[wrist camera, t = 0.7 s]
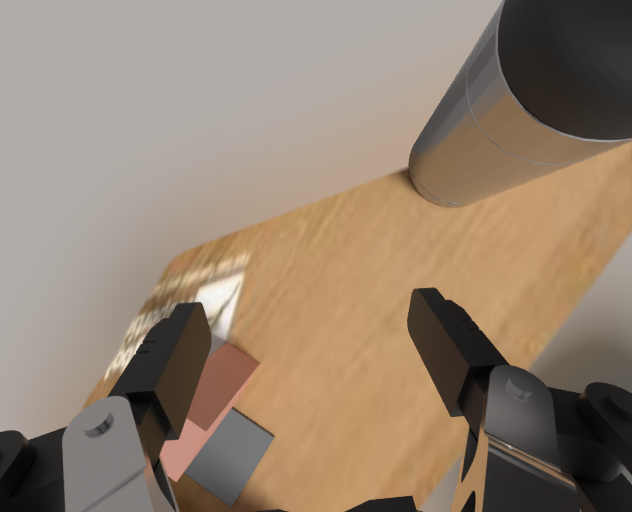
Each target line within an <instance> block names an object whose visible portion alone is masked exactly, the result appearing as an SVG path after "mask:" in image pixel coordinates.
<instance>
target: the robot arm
mask: <svg viewBox="0 0 632 512" xmlns="http://www.w3.org/2000/svg"><path fill="white" fill-rule="evenodd" d="M630 142H632V0H503V1H502V3H501V4H500V6H499V7H498V9H497V11H496V12H495V14H494V16H493V17H492V19H491V20H490V22H489V24H488V25H487V27H486V29H485V30H484V32H483V33H482V35H481V37H480V38H479V40H478V42H477V44H476V45H475V47H474V48H473V50H472V52H471V53H470V55H469V56H468V58H467V60H466V61H465V63H464V65H463V66H462V68H461V69H460V71H459V73H458V74H457V76H456V78H455V79H454V81H453V82H452V84H451V86H450V87H449V89H448V90H447V92H446V94H445V96H444V97H443V98H442V100H441V102H440V103H439V105H438V107H437V108H436V110H435V111H434V113H433V115H432V116H431V118H430V119H429V121H428V123H427V124H426V126H425V127H424V129H423V131H422V132H421V134H420V136H419V137H418V139H417V141H416V142H415V144H414V145H413V148H412V150H411V154H410V158H409V174H410V177H411V180H412V183H413V184H414V186H415V188H416V190H417V191H418V192H419V193H420V194H421V195H422V196H423V197H424V198H426V199H427V200H428V201H430V202H432V203H434V204H437V205H439V206H444V207H462V206H467V205H470V204H472V203H475V202H478V201H480V200H483V199H485V198H488V197H491V196H494V195H496V194H499V193H501V192H504V191H507V190H509V189H512V188H514V187H517V186H520V185H522V184H525V183H527V182H530V181H533V180H535V179H538V178H540V177H543V176H545V175H548V174H551V173H553V172H556V171H558V170H561V169H564V168H566V167H569V166H571V165H574V164H576V163H579V162H582V161H584V160H587V159H589V158H592V157H595V156H596V155H599V154H602V153H604V152H607V151H609V150H612V149H615V148H617V147H620V146H622V145H625V144H627V143H630ZM407 326H408V331H409V334H410V336H411V338H412V340H413V342H414V344H415V346H416V348H417V350H418V352H419V354H420V356H421V358H422V360H423V362H424V364H425V366H426V368H427V370H428V372H429V374H430V376H431V378H432V380H433V382H434V384H435V386H436V388H437V390H438V392H439V394H440V396H441V398H442V400H443V402H444V404H445V406H446V408H447V410H448V412H449V414H450V416H451V417H456V416H464V417H465V418H466V420H467V422H468V426H467V429H466V435H465V441H464V447H463V453H462V459H461V465H460V471H459V477H458V483H457V488H456V492H455V496H454V500H453V503H452V506H451V510H450V512H580V510H581V511H582V512H632V485H631V483H630V482H629V481H628V480H627V479H626V477H625V476H624V475H623V474H622V473H621V472H622V471H624V470H625V469H627V470H628V471H629V472H630V473H631V475H632V393H630V392H628V391H626V390H624V389H622V388H620V387H617V386H614V385H611V384H607V383H599V382H596V383H591V384H589V385H588V386H587V387H586V388H585V390H584V391H583V392H582V394H581V393H575V392H571V391H566V390H561V389H555V388H550V387H547V386H545V384H544V383H543V382H542V381H541V380H540V379H538V378H537V377H536V376H535V375H533V374H531V373H529V372H528V371H526V370H524V369H522V368H519V367H516V366H511V365H510V364H509V363H508V362H507V361H506V360H505V358H504V357H503V356H502V355H501V354H500V352H499V351H498V350H497V349H496V348H495V346H494V345H493V344H492V343H491V342H490V340H489V339H488V338H487V337H486V335H485V334H484V333H483V332H482V331H481V330H479V327H478V326H477V325H476V323H475V322H474V321H472V319H471V317H470V316H469V315H468V314H467V313H466V311H465V310H464V309H463V308H462V307H460V306H459V305H457V304H456V303H454V302H453V301H451V300H445V299H444V298H443V296H442V295H441V294H440V292H439V291H438V290H437V289H436V288H418V289H414V290H413V292H412V296H411V302H410V307H409V313H408V318H407ZM210 347H211V331H210V328H209V325H208V321H207V318H206V314H205V311H204V308H203V305H202V303H201V302H193V303H179V304H177V305H176V307H175V309H174V310H173V312H172V314H171V315H170V317H169V318H163V319H162V320H161V321H160V322H158V323H157V324H156V325H155V326H154V327H153V328H151V329H150V331H149V332H148V334H147V336H146V337H145V339H144V340H143V344H141V345H140V346H139V348H138V350H137V351H136V354H135V355H134V356H133V357H132V359H131V361H130V362H129V364H128V365H127V367H126V368H125V370H124V372H123V373H122V375H121V376H120V378H119V379H118V381H117V383H116V384H115V386H114V387H113V389H112V390H111V392H110V393H109V395H108V396H107V398H103V399H101V400H98V401H96V402H94V403H93V404H91V405H89V406H88V407H86V408H85V409H84V410H82V411H81V412H80V413H79V414H78V415H77V416H76V417H75V418H74V419H73V420H72V421H71V422H70V424H69V425H68V426H67V427H65V428H61V429H59V430H56V431H53V432H50V433H47V434H45V435H42V436H39V437H36V438H33V439H30V440H27V439H26V438H25V437H24V436H23V435H22V434H21V433H20V432H18V431H14V430H10V431H4V432H0V512H180V511H179V508H178V505H177V502H176V499H175V496H174V493H173V490H172V487H171V484H170V481H169V478H168V475H167V472H166V469H165V466H164V463H163V460H162V457H161V455H160V453H161V450H162V448H163V445H164V442H165V441H170V440H179V438H180V435H181V432H182V430H183V427H184V424H185V421H186V418H187V415H188V412H189V409H190V406H191V403H192V400H193V398H194V395H195V392H196V389H197V386H198V383H199V380H200V377H201V374H202V371H203V368H204V365H205V363H206V360H207V357H208V354H209V351H210ZM257 512H287V511H283V510H279V509H277V510H267V511H257ZM345 512H422V511H418V510H416V507H415V503H414V500H413V497H412V496H404V497H394V498H385V499H375V500H368V501H366V502H364V503H362V504H360V505H358V506H356V507H354V508H352V509H350V510H348V511H345Z"/></svg>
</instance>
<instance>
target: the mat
mask: <svg viewBox="0 0 632 512" xmlns="http://www.w3.org/2000/svg"><path fill="white" fill-rule="evenodd" d="M274 437H275V436H274V435H272V434H271V433H269V432H268V431H266V430H265V429H264V428H262V427H261V426H259V425H258V424H256V423H255V422H253V421H252V420H250V419H249V418H247V417H246V416H245V415H243V414H242V413H240V412H239V411H237V410H236V409H234V408H233V407H232V408H231V409H230V411H229V412H228V413H227V415H226V416H225V417H224V419H223V420H222V421H221V423H220V424H219V426H218V427H217V428H216V430H215V431H214V432H213V434H212V435H211V436H210V438H209V439H208V440H207V442H206V443H205V444H204V446H203V447H202V448H201V450H200V451H199V452H198V454H197V455H196V456H195V458H194V459H193V461H192V462H191V463H190V465H189V466H188V467H187V469H186V470H185V471H184V474H186V475H187V476H188V477H190V478H191V479H193V480H194V481H195V482H197V483H198V484H199V485H201V486H202V487H204V488H205V489H206V490H208V491H209V492H210V493H212V494H213V495H215V496H216V497H217V498H219V499H220V500H221V501H223V502H224V503H226V504H227V505H228V506H230V507H232V505H233V504H234V502H235V501H236V499H237V497H238V496H239V494H240V492H241V491H242V489H243V488H244V486H245V484H246V483H247V481H248V479H249V478H250V476H251V475H252V473H253V471H254V470H255V468H256V466H257V465H258V463H259V462H260V460H261V458H262V457H263V455H264V453H265V452H266V450H267V449H268V447H269V445H270V444H271V442H272V440H273V439H274Z"/></svg>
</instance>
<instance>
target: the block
mask: <svg viewBox="0 0 632 512" xmlns="http://www.w3.org/2000/svg"><path fill="white" fill-rule="evenodd" d="M259 364H260V363H259V362H257V361H256V360H254V359H253V358H251V357H249V356H248V355H246V354H245V353H243V352H242V351H240V350H239V349H237V348H236V347H234V346H233V345H231V344H230V343H228V342H227V343H226V344H225V345H223V346H222V347H221V348H219V349H218V350H217V351H215V352H214V353H213V354H212V355H210V356H209V357H208V358H207V360H206V363H205V365H204V368H203V371H202V374H201V377H200V380H199V383H198V386H197V389H196V392H195V395H194V398H193V400H192V403H191V406H190V409H189V412H188V415H187V418H186V421H185V424H184V427H183V430H182V432H181V435H180V438H179V440H170V441H165V442H164V445H163V448H162V450H161V453H160V455H161V457H162V460H163V463H164V466H165V469H166V472H167V475H168V476H169V477H170V478H171V479H173V480H174V481H175V482H177V481H178V479H179V478H180V477H181V475H182V474H183V473H184V471H185V470H186V469H187V467H188V466H189V465H190V463H191V462H192V461H193V459H194V458H195V456H196V455H197V454H198V452H199V451H200V450H201V448H202V447H203V446H204V444H205V443H206V442H207V440H208V439H209V438H210V436H211V435H212V434H213V432H214V431H215V430H216V428H217V427H218V426H219V424H220V423H221V421H222V420H223V419H224V417H225V416H226V415H227V413H228V412H229V411H230V409H231V408H232V407H233V405H234V404H235V403H236V401H237V400H238V399H239V397H240V396H241V394H242V393H243V391H244V389H245V388H246V386H247V384H248V383H249V381H250V379H251V378H252V376H253V374H254V373H255V371H256V369H257V367H258V366H259Z"/></svg>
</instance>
